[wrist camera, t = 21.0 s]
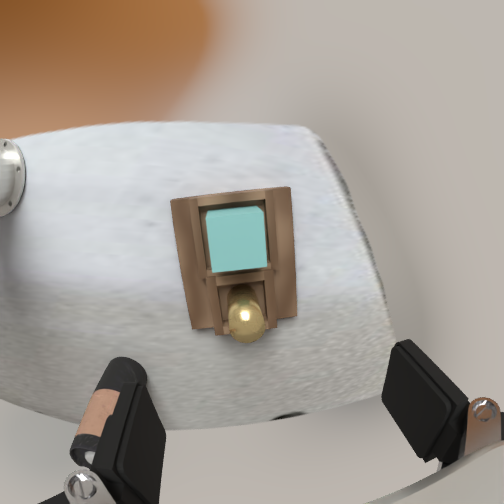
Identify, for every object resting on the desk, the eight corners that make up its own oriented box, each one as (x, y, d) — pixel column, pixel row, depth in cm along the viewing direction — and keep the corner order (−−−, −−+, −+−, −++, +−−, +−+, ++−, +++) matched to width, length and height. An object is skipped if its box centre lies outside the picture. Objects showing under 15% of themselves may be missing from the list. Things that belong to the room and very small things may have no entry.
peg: (228, 312, 40) (231, 344, 32) (225, 285, 38) (227, 314, 31) (257, 309, 40) (266, 340, 32) (255, 282, 39) (264, 310, 31)
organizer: (193, 323, 42) (191, 338, 38) (172, 199, 37) (167, 202, 33) (293, 310, 43) (300, 323, 39) (286, 186, 38) (294, 188, 34)
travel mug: (142, 354, 42) (111, 451, 23) (153, 389, 45) (134, 482, 25) (101, 355, 42) (58, 442, 23) (114, 388, 44) (84, 474, 25)
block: (213, 256, 37) (212, 272, 31) (208, 210, 36) (205, 217, 30) (259, 251, 38) (267, 266, 32) (256, 205, 36) (263, 212, 30)
